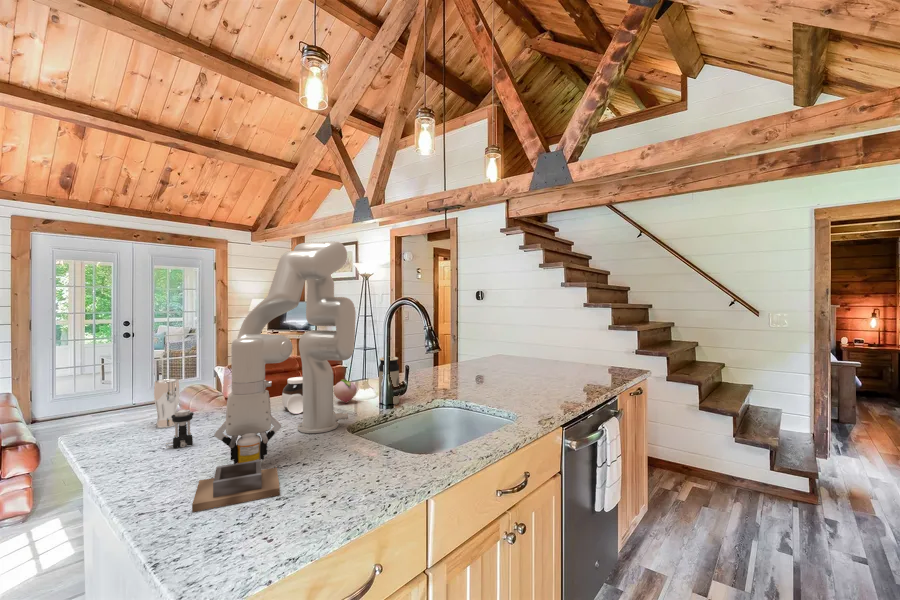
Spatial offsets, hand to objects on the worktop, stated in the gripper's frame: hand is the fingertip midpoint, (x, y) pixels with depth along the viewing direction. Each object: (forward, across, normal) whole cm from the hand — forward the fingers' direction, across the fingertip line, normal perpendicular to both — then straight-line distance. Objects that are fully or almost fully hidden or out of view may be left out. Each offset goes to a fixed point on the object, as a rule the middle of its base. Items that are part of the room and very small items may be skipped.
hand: (249, 459), depth 103 cm
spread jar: (+2, -16, -50) cm, 53 cm away
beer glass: (+2, +25, -50) cm, 56 cm away
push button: (+2, +18, -25) cm, 31 cm away
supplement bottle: (+2, 0, 0) cm, 2 cm away
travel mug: (+2, -50, -45) cm, 67 cm away
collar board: (+2, +2, +13) cm, 13 cm away
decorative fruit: (+2, -34, -53) cm, 63 cm away
